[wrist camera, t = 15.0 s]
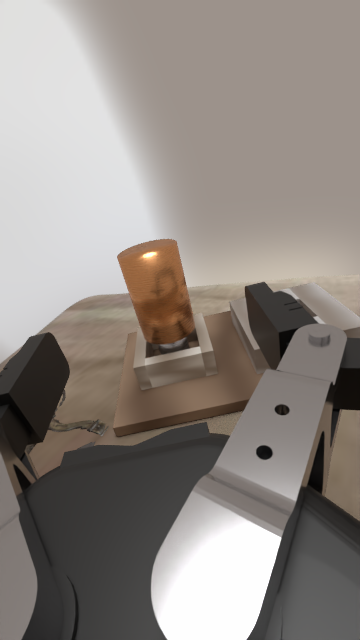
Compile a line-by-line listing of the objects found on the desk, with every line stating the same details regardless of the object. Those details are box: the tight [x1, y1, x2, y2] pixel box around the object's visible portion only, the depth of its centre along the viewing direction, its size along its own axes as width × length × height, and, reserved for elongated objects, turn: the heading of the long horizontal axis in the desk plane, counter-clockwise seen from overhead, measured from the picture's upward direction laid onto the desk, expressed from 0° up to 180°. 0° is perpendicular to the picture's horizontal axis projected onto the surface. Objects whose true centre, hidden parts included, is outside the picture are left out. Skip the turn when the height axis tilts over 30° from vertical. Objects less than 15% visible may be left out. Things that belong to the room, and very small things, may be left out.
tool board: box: [113, 282, 360, 437], centre depth 28 cm, size 22×14×4 cm, turn 94°
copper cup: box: [117, 239, 195, 355], centre depth 26 cm, size 5×5×11 cm
